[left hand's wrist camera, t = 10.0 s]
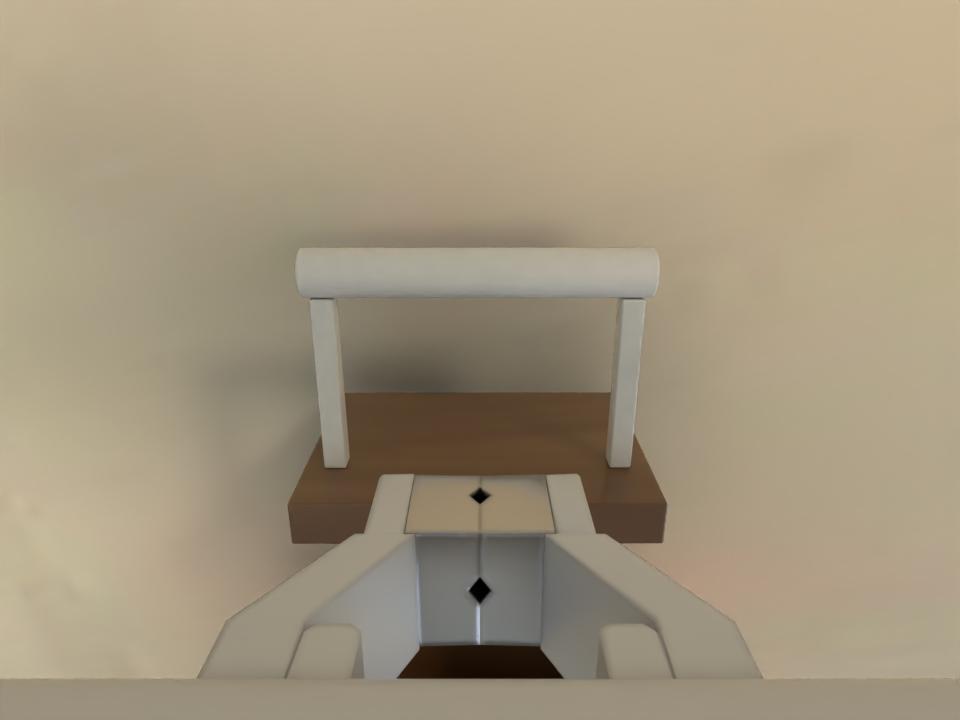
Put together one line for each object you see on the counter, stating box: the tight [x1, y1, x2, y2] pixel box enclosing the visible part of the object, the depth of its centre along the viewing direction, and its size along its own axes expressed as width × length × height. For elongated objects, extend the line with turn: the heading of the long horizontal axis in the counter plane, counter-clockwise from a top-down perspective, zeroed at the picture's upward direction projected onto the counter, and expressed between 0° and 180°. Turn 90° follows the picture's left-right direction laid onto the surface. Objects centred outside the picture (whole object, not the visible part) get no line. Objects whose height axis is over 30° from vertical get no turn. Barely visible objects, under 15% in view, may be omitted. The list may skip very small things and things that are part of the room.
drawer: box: [288, 248, 667, 679], centre depth 22 cm, size 26×10×7 cm, turn 0°
